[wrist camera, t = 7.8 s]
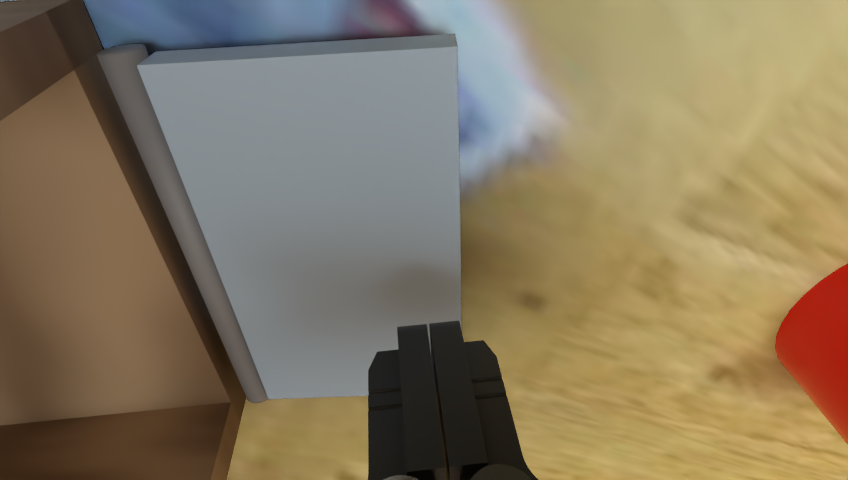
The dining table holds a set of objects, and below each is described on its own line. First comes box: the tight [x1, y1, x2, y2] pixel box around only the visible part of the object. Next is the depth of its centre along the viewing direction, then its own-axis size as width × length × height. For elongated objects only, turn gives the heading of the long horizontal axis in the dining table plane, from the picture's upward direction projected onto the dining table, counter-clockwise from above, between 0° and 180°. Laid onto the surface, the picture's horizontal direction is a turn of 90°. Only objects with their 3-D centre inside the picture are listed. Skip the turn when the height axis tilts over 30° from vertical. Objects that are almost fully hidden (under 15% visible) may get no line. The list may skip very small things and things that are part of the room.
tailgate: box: [97, 34, 462, 403], centre depth 15 cm, size 1×12×8 cm
